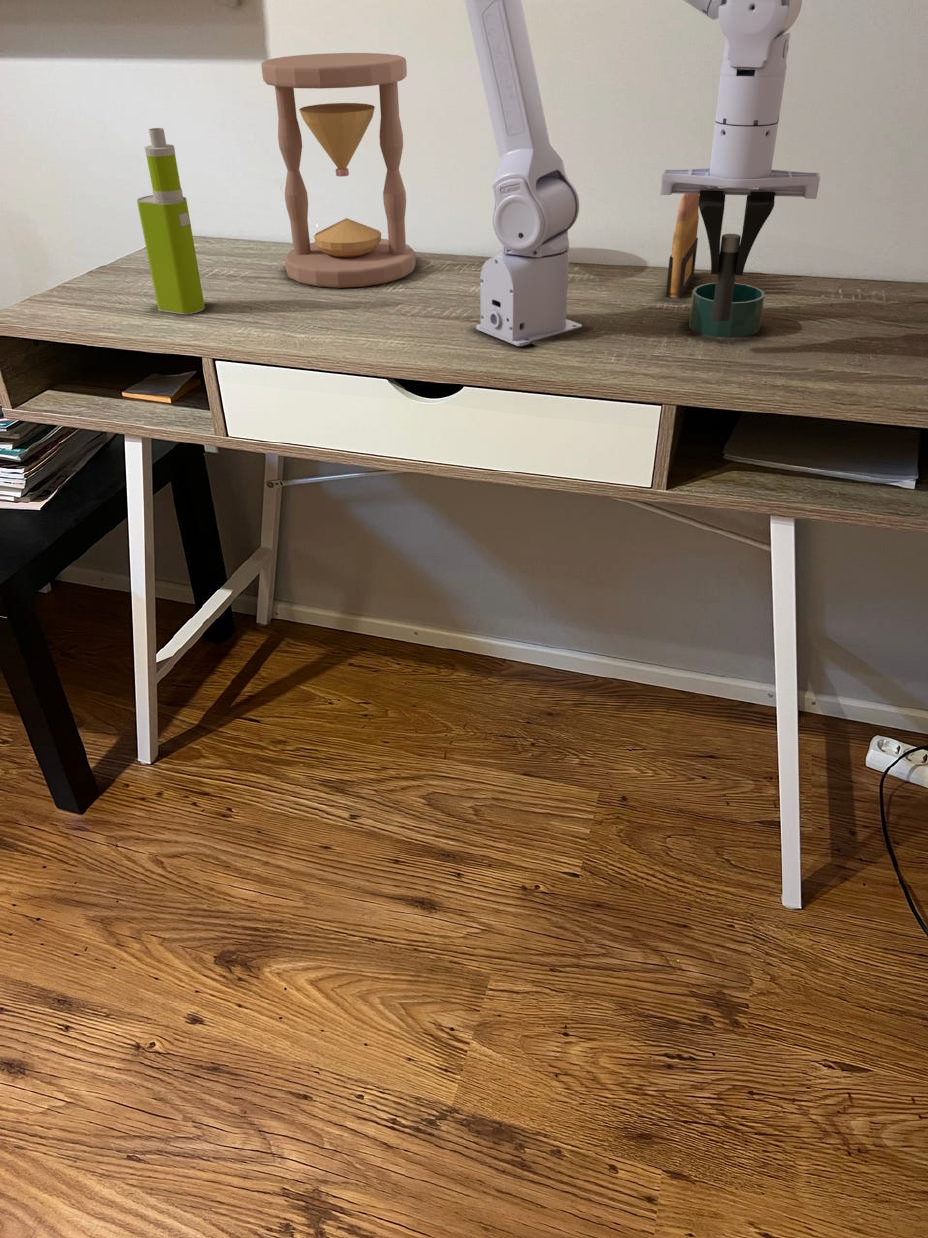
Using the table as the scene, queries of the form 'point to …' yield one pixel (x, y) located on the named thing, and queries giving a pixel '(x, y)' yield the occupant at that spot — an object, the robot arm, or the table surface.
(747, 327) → the pen cup
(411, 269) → the hourglass
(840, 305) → the table surface
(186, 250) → the vape
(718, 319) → the marker
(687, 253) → the ammunition clip
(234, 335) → the table surface
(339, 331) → the table surface
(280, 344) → the table surface
